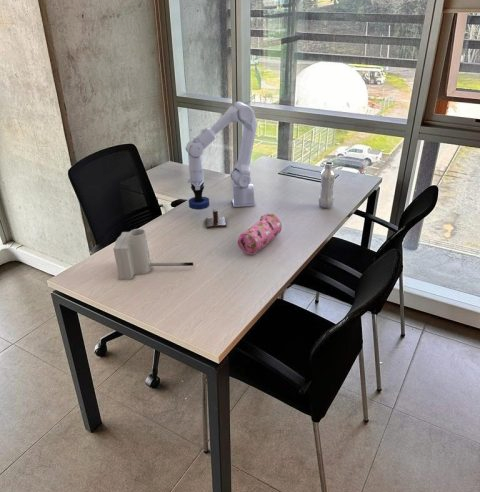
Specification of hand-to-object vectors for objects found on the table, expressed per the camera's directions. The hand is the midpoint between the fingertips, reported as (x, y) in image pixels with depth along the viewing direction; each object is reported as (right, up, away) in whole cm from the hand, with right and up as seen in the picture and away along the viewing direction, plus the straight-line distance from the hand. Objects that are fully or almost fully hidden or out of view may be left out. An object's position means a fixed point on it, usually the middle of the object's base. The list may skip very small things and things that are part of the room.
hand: (198, 199), depth 201 cm
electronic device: (-11, -32, -38) cm, 51 cm away
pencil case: (+26, -21, -25) cm, 42 cm away
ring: (0, -3, -2) cm, 4 cm away
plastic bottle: (+57, -3, +3) cm, 57 cm away
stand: (+8, -12, -8) cm, 16 cm away
